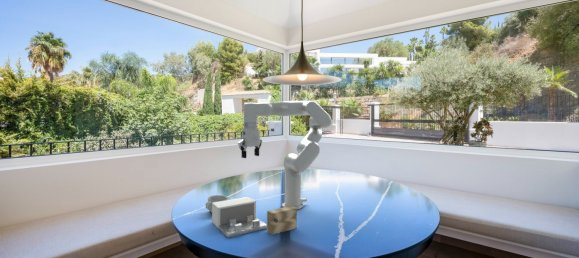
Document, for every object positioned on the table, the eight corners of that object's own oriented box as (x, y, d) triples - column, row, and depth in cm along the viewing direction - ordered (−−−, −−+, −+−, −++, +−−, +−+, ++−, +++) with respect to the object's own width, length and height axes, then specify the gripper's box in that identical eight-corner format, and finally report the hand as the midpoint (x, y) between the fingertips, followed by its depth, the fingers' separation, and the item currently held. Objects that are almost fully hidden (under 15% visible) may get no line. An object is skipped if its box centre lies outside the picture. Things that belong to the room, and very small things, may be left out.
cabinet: (248, 214, 154) (248, 196, 154) (255, 220, 147) (256, 201, 146) (212, 222, 143) (212, 202, 142) (218, 228, 136) (218, 207, 135)
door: (291, 225, 140) (292, 205, 140) (297, 229, 136) (298, 208, 136) (267, 231, 133) (267, 210, 132) (272, 236, 128) (272, 214, 128)
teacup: (219, 207, 166) (219, 193, 165) (231, 211, 159) (231, 197, 158) (198, 213, 155) (198, 199, 154) (210, 218, 148) (210, 203, 148)
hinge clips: (255, 220, 147) (255, 211, 146) (267, 228, 137) (267, 218, 136) (218, 228, 136) (218, 219, 135) (227, 237, 126) (227, 227, 125)
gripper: (243, 126, 145) (243, 159, 146) (266, 125, 159) (266, 155, 160) (233, 125, 150) (233, 158, 151) (256, 124, 163) (256, 154, 164)
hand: (250, 156), depth 155 cm, fingers open, 9 cm apart
